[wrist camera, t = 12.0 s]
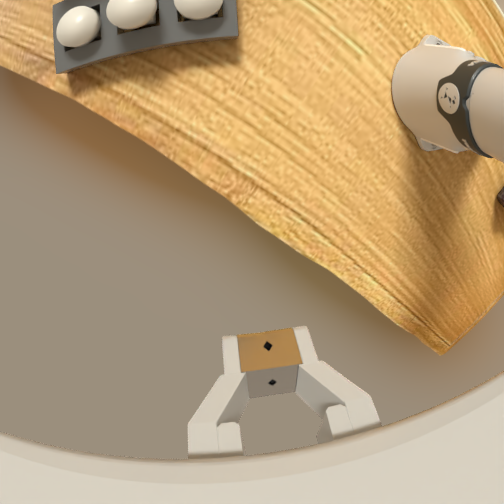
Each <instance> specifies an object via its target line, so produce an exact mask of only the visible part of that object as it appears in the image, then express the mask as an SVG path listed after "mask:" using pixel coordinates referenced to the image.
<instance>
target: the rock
mask: <svg viewBox="0 0 504 504" xmlns="http://www.w3.org/2000/svg"><path fill="white" fill-rule="evenodd" d="M497 198H498V200H499V202H500V204H501V205H503V207H504V187H503V189H502V191H501V192H500V193H499V194H498V197H497Z"/></svg>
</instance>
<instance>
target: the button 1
mask: <svg viewBox="0 0 504 504" xmlns="http://www.w3.org/2000/svg"><path fill="white" fill-rule="evenodd" d="M56 35H57V39H58V41H59V42H60V43H61V44H62V45H64V46H67V47H82V46H85V45H87V44H88V43H91V42H94V41H97V40H101V17H100V11H98V10H94V9H91V8H89V7H86V6H78V7H75V8H72V9H71V10H69V11H68V12H67V13H65V14H64V15H63V17H62V18H61V19H60V21H59V23H58V26H57V30H56Z"/></svg>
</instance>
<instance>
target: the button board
mask: <svg viewBox="0 0 504 504" xmlns="http://www.w3.org/2000/svg"><path fill="white" fill-rule="evenodd" d="M108 2H109V0H64V1H62V2H59V3H57V4H55V5H53V37H54V53H55V65H56V74H61V73H68V72H71V71H74V70H77V69H80V68H83V67H86V66H89V65H92V64H96V63H99V62H102V61H106V60H110V59H113V58H117V57H121V56H125V55H129V54H133V53H138V52H142V51H147V50H152V49H157V48H163V47H168V46H175V45H181V44H188V43H196V42H205V41H214V40H226V39H237V37H238V23H237V7H236V0H223V4H222V17H218V18H207V19H203V20H190V21H183V22H180V13H179V12H178V10H177V8H176V7H175V4H174V0H159V19H160V25H159V26H154V27H149V28H144V29H139V30H135V31H131V32H127V33H124V30H123V29H121V28H118V27H117V26H115V25H113V24H112V23H111V22H110V21H109V20H108V18H107V14H106V9H107V5H108ZM78 6H86V7H89V8H91V9H94V10H98V11H100V17H101V40H98V41H95V42H92V43H89V44H87V45H85V46H82V47H77V48H75V47H67V46H64V45H62V44H61V43H60V42H59V41H58V39H57V35H56V30H57V26H58V23H59V21H60V19H61V18H62V17H63V15H64V14H65V13H67V12H68V11H69V10H71V9H72V8H75V7H78Z"/></svg>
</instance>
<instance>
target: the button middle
mask: <svg viewBox="0 0 504 504" xmlns="http://www.w3.org/2000/svg"><path fill="white" fill-rule="evenodd" d="M156 10H157V0H109V2H108V5H107V9H106V14H107V18H108V20H109V21H110V22H111V23H112V24H113V25H115V26H117V27H118V28H121V29H123V30H129V29H136V28H139V27H141V26H146V25H151V24H156Z"/></svg>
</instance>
